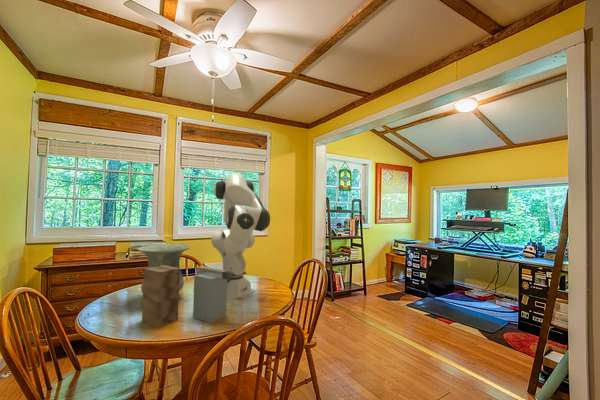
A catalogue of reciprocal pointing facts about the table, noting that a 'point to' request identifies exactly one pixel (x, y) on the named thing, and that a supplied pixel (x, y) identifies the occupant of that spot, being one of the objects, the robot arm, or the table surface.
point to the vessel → (164, 257)
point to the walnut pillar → (160, 295)
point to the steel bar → (215, 272)
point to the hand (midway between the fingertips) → (228, 262)
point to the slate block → (209, 297)
